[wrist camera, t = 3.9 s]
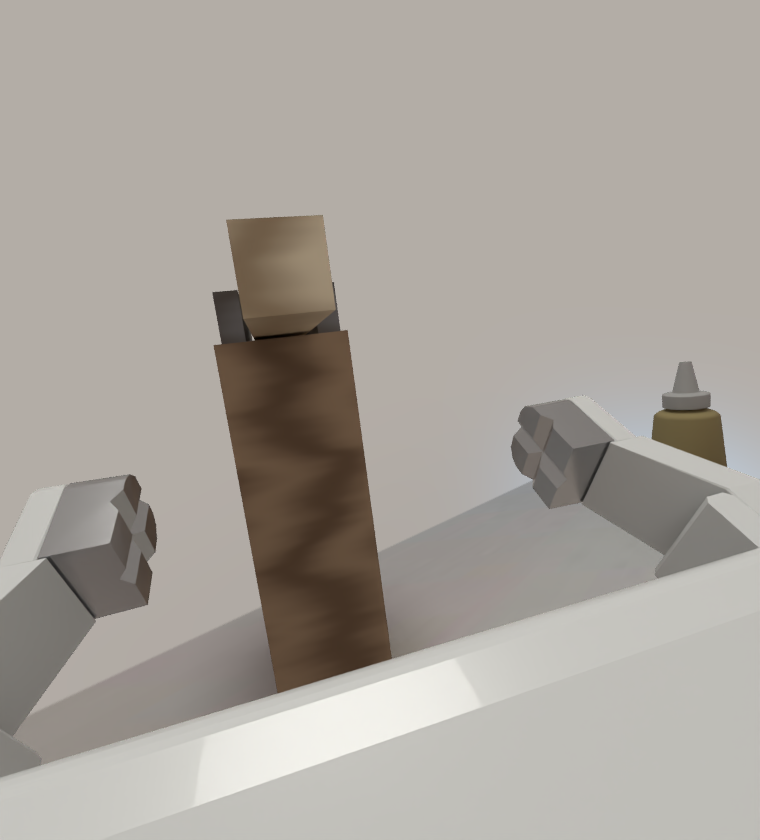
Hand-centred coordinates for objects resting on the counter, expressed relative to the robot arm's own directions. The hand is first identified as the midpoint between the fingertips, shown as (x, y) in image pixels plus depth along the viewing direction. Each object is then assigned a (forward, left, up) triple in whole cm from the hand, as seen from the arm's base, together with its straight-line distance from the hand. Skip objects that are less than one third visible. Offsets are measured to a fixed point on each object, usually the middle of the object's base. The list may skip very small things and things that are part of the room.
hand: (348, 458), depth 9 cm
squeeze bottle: (+45, +31, -22) cm, 59 cm away
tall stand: (0, +21, -21) cm, 30 cm away
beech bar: (0, +15, +4) cm, 15 cm away
